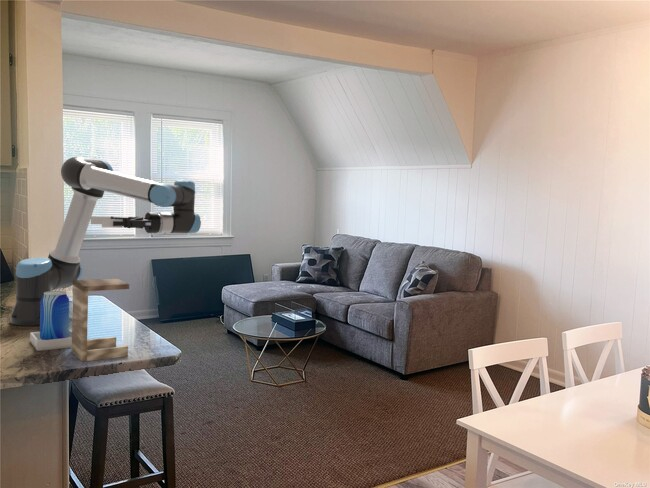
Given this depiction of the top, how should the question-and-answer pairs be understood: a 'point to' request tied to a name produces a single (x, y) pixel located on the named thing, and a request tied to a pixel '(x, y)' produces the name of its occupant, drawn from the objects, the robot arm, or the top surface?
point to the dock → (81, 319)
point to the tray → (50, 342)
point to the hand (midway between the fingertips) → (96, 221)
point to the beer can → (54, 315)
